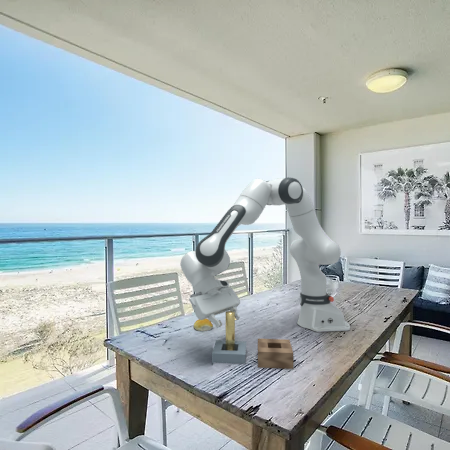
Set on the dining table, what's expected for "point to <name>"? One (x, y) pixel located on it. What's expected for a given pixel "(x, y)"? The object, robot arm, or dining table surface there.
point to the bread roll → (203, 325)
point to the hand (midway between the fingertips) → (229, 322)
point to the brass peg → (230, 330)
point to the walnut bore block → (275, 353)
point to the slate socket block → (229, 353)
